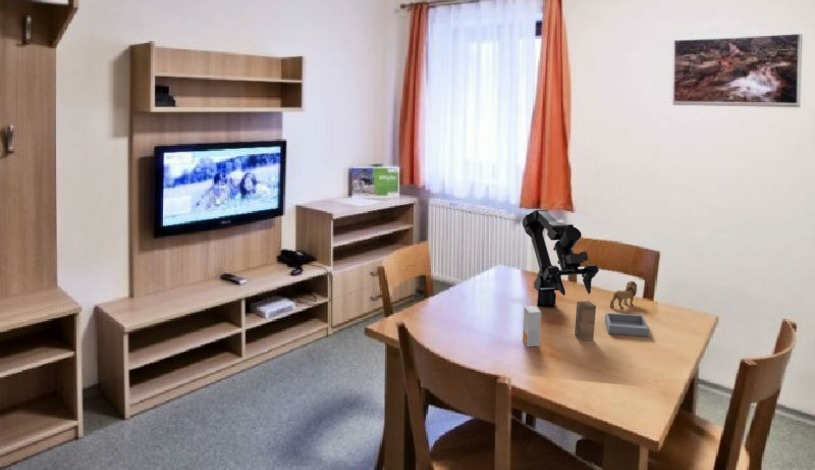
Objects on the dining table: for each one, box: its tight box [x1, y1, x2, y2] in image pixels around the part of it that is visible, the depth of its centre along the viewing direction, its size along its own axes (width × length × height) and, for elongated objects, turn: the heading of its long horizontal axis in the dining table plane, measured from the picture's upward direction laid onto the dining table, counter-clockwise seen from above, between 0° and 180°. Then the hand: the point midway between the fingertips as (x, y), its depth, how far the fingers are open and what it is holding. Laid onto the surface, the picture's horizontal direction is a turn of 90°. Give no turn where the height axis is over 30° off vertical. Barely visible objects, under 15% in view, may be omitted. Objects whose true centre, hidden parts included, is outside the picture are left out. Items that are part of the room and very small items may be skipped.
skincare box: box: [522, 305, 542, 348], centre depth 202 cm, size 6×4×12 cm
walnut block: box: [574, 300, 597, 342], centre depth 207 cm, size 5×4×12 cm
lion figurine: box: [609, 280, 638, 310], centre depth 239 cm, size 15×5×9 cm, turn 130°
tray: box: [604, 312, 650, 338], centre depth 216 cm, size 13×13×3 cm
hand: (577, 294), depth 213 cm, fingers open, 9 cm apart
